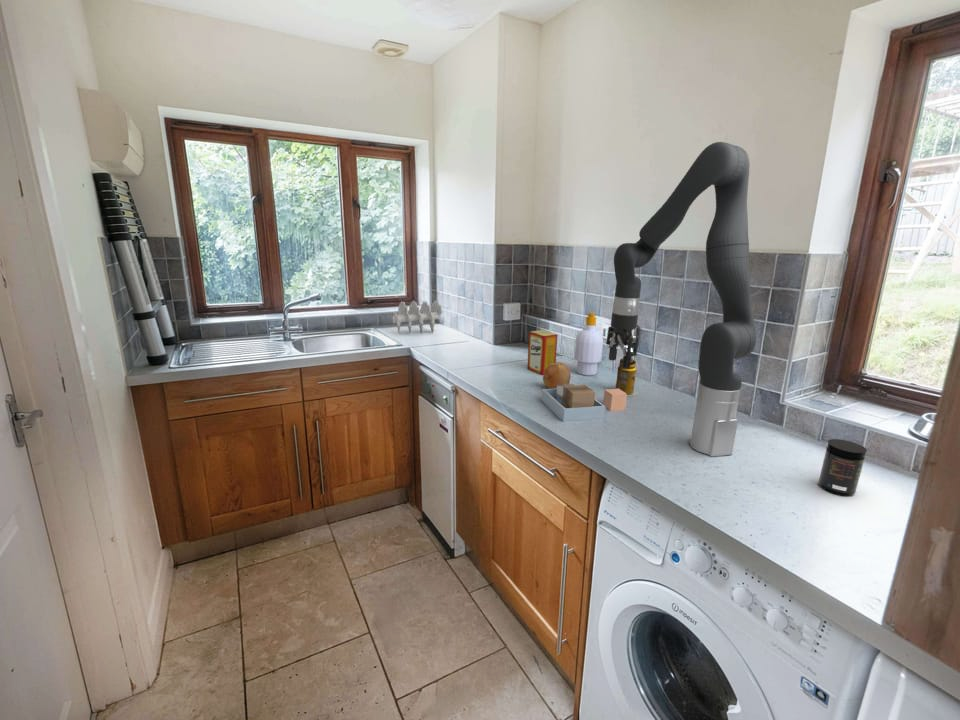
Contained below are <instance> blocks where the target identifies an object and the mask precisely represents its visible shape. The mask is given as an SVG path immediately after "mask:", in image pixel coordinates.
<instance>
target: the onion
mask: <svg viewBox="0 0 960 720" xmlns="http://www.w3.org/2000/svg"><path fill="white" fill-rule="evenodd" d="M571 375H572V374H571V372H570V369H569V367H568V366H567V365H566V364H564V363H563V362H560V361H559V362H557V361H556V363H553V364H551V365H549V366H548V367H547V368H546V369H545V371H544V374H543V375H542V380H543V383H544V386H545V387H546V388H547V389H555V388H557V385H558V384H563V383H567V384H570V381H571V377H572V376H571Z"/></svg>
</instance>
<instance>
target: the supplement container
mask: <svg viewBox="0 0 960 720" xmlns="http://www.w3.org/2000/svg"><path fill="white" fill-rule="evenodd" d="M867 451H868V450H867V448H866V447H864V446H863V445H861V444H859V443H856V442H853V441H849V440H845V439H841V438H840V439H839V438H831V439H828V440H827V443H826V447H825V452H824V457H823V461H822V465H821V469H820V474H819V478H818V481H817V482H818V484H819V486H820V487H821V488H822V489H823V490H824V491H826V492H829V493H832V494H834V495H837V496H842V497H850V496H853V495H854V494H856V492H857V489H858V485H859V482H860V477H861V473H862V470H863V465H864V462H865V459H866V456H867Z"/></svg>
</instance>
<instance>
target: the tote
mask: <svg viewBox="0 0 960 720" xmlns="http://www.w3.org/2000/svg"><path fill="white" fill-rule="evenodd" d="M556 393H557V388H555V389H549V388H542V390H541V402H542V403H543V404H544V405H545V406H546V407H547V408H548V409H550V411H551V412H553V413H554V414H555V415H556V416H557V417H558V419H560V421H562V422H563V423H566V422H567V423H569V422H583V421H594V420H596V421H597V420H605V418H606V417H605V415H606V406H604V405H603V402H602V403H601V402H600V401H599V400H597V399H596V398H595V399H594V406H593V407H579V408H564V407H563V406H562V405H561V404H560V403H559V402H558V401H557V400H556Z"/></svg>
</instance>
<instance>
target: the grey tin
mask: <svg viewBox="0 0 960 720" xmlns="http://www.w3.org/2000/svg"><path fill="white" fill-rule="evenodd" d="M571 385H574V384H572V383H569V384H567V383H563V384H558V385H557V393H556V400H557V401H558V402H559V403H560V404H561V405H562V398H563V386H571Z"/></svg>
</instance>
